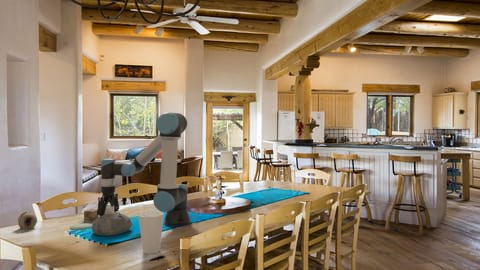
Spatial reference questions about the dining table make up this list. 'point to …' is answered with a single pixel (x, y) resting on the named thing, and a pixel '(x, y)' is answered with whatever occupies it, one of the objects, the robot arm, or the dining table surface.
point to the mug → (108, 210)
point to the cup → (151, 231)
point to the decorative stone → (111, 224)
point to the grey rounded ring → (27, 220)
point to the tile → (86, 221)
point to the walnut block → (90, 215)
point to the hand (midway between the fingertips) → (108, 224)
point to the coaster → (81, 226)
